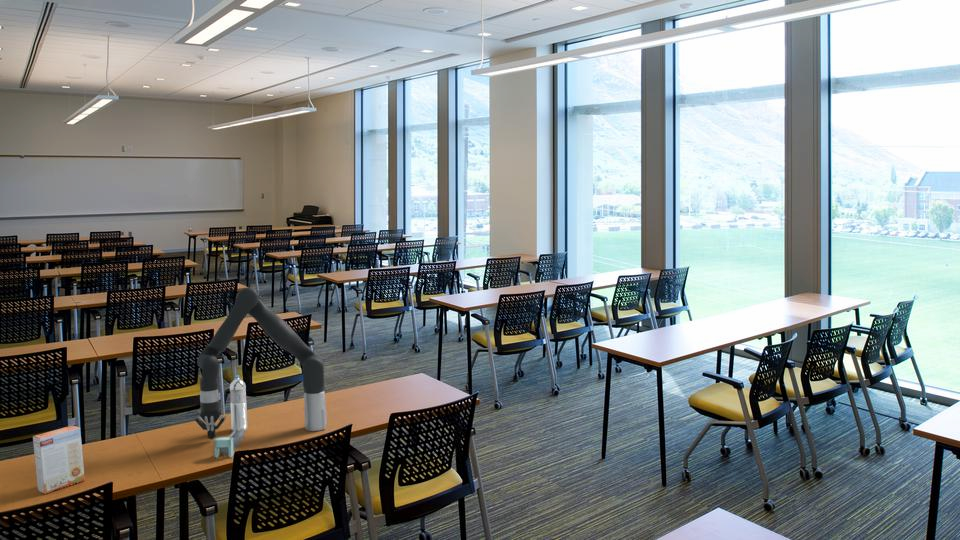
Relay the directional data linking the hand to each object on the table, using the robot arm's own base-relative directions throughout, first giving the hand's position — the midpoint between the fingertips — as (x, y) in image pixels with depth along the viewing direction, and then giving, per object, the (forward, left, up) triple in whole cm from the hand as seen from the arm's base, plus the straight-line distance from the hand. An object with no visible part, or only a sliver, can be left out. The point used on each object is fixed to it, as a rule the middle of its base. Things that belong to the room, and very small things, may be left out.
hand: (211, 438), depth 297 cm
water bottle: (-8, -14, -1) cm, 16 cm away
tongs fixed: (-11, +6, -1) cm, 12 cm away
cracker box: (+40, +43, -2) cm, 59 cm away
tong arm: (-10, +4, -1) cm, 11 cm away
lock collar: (-11, +18, -1) cm, 21 cm away
